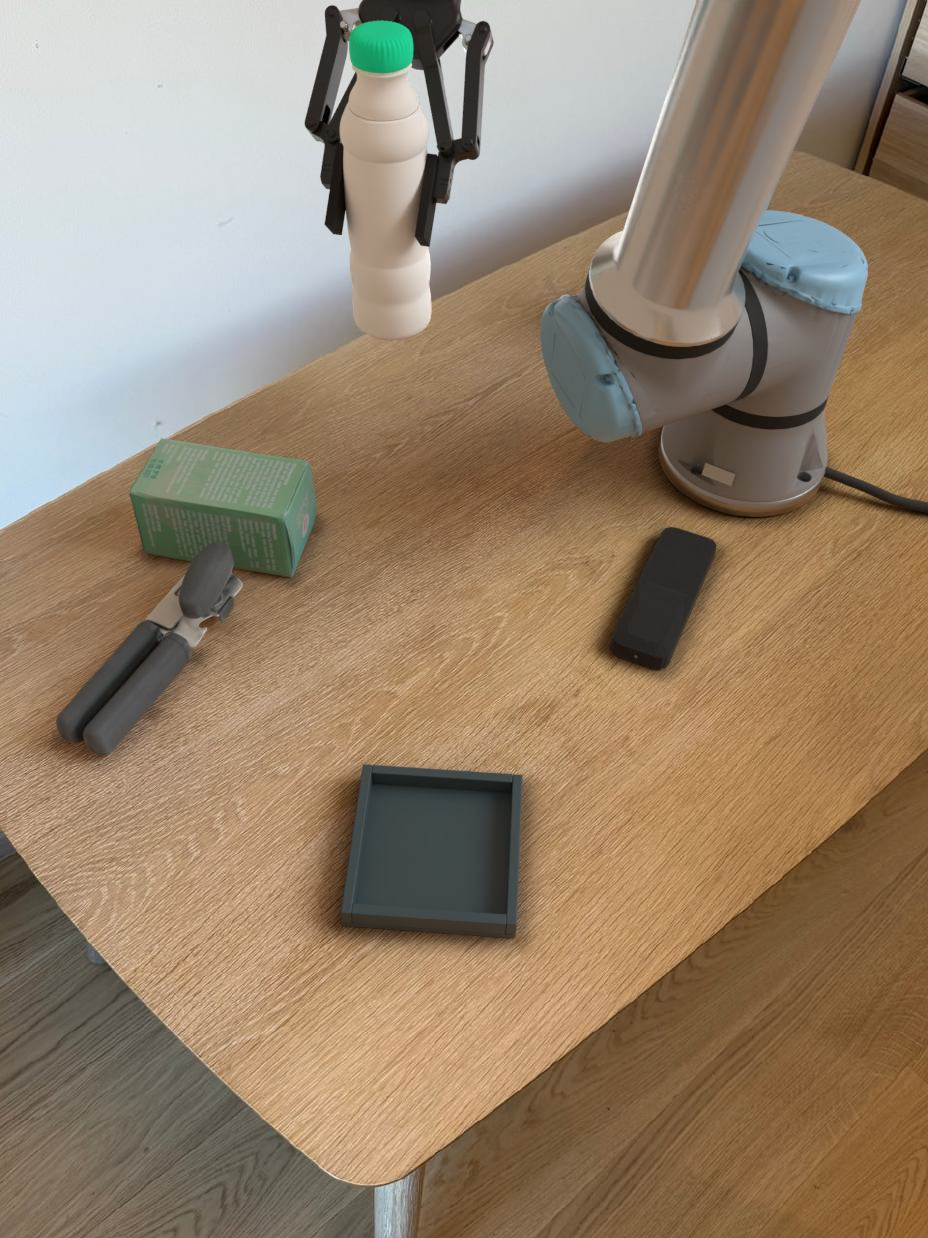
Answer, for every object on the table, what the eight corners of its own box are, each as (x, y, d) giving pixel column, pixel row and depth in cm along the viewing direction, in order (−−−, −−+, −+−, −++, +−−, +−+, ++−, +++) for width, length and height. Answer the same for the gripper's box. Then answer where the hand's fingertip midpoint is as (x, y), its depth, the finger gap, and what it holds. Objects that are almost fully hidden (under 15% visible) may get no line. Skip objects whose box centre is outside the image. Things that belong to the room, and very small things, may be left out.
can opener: (203, 573, 93) (190, 519, 88) (254, 594, 91) (244, 540, 86) (54, 741, 81) (30, 689, 77) (110, 767, 80) (89, 716, 75)
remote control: (662, 537, 97) (606, 652, 88) (665, 522, 96) (608, 637, 86) (716, 554, 96) (665, 673, 86) (720, 539, 94) (668, 658, 85)
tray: (521, 789, 79) (522, 774, 78) (515, 938, 72) (516, 925, 70) (364, 778, 80) (362, 763, 78) (342, 926, 72) (340, 912, 71)
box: (297, 580, 92) (287, 515, 87) (143, 558, 94) (124, 492, 88) (320, 521, 97) (313, 455, 91) (174, 500, 98) (158, 435, 93)
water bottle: (403, 353, 96) (392, 57, 77) (338, 327, 99) (312, 34, 80) (446, 314, 100) (446, 23, 81) (382, 290, 103) (368, 2, 84)
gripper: (547, -21, 90) (501, 263, 92) (316, -43, 93) (276, 233, 94) (540, -72, 83) (490, 237, 84) (289, -95, 85) (246, 206, 87)
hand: (377, 235), depth 89 cm, fingers closed on water bottle, 7 cm apart
